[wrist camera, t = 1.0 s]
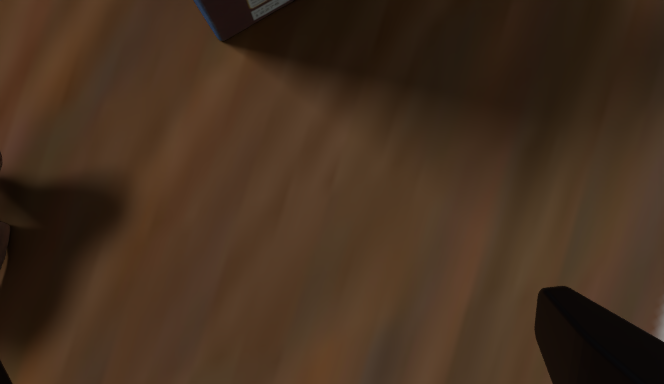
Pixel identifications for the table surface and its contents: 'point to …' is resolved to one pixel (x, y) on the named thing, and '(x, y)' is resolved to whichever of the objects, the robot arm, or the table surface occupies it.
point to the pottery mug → (3, 233)
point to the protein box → (236, 14)
